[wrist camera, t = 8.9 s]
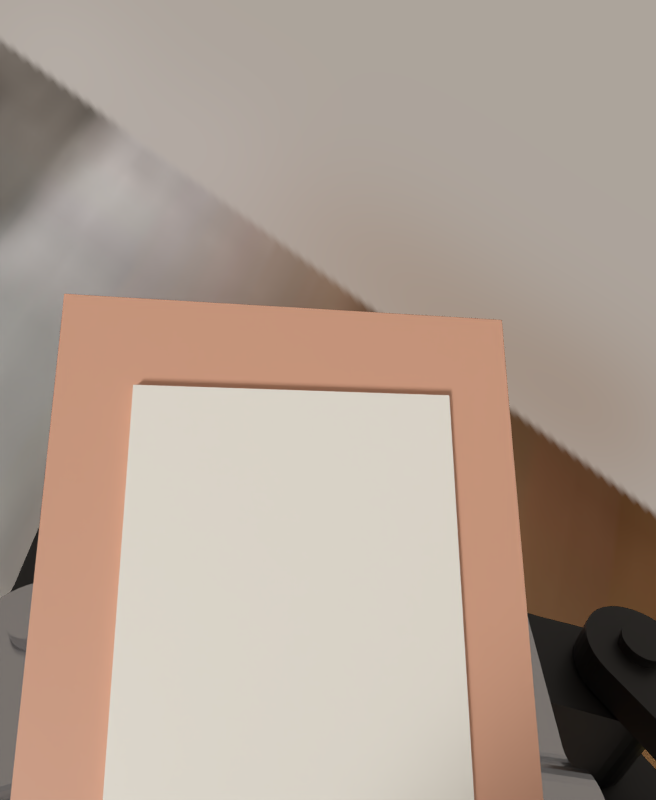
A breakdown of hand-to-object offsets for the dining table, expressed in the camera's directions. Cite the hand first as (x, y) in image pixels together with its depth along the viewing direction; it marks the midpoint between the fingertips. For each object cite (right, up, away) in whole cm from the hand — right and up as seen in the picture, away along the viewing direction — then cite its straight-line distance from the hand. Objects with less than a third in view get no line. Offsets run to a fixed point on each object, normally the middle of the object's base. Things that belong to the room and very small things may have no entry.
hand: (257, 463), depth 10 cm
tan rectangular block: (-1, -3, +5) cm, 6 cm away
